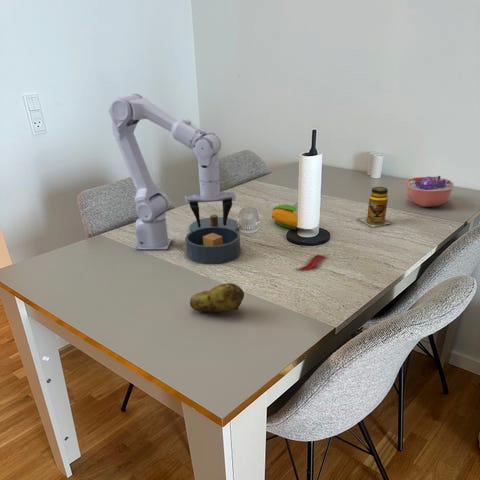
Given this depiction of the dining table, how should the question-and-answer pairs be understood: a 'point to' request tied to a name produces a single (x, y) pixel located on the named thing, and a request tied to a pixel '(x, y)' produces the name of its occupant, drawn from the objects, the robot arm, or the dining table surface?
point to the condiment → (377, 207)
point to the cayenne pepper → (312, 262)
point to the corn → (285, 216)
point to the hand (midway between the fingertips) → (212, 225)
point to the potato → (218, 298)
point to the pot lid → (214, 223)
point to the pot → (213, 253)
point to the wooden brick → (212, 240)
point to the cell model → (429, 190)
